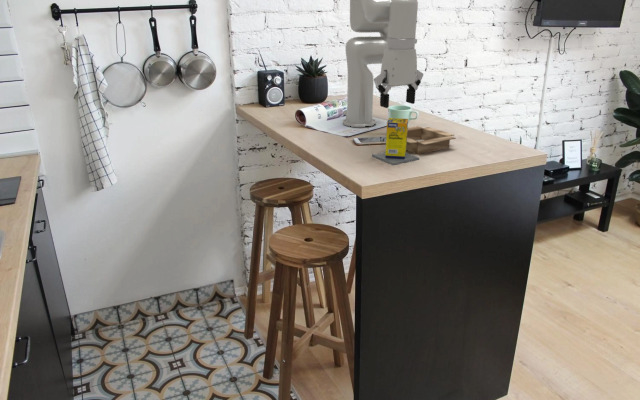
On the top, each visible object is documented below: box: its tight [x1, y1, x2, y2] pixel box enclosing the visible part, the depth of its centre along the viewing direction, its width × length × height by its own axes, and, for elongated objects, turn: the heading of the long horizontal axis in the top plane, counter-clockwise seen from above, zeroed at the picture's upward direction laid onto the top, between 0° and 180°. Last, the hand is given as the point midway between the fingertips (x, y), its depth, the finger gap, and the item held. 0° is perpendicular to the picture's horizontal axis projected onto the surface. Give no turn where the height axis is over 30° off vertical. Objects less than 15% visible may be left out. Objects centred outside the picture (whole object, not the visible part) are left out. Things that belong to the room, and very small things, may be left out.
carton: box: [406, 125, 457, 155], centre depth 168 cm, size 18×18×4 cm
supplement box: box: [385, 117, 409, 159], centre depth 155 cm, size 6×6×11 cm
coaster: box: [371, 151, 420, 166], centre depth 157 cm, size 10×10×1 cm
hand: (397, 104), depth 152 cm, fingers open, 9 cm apart
